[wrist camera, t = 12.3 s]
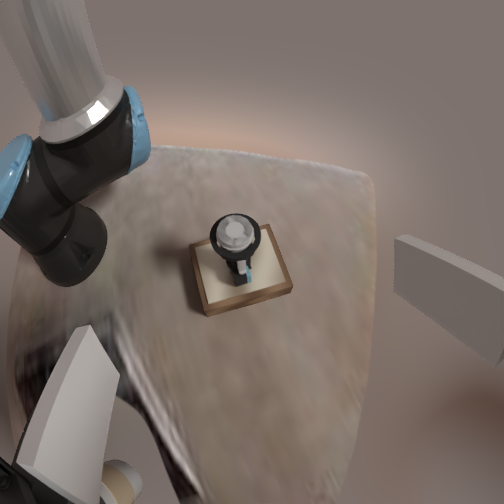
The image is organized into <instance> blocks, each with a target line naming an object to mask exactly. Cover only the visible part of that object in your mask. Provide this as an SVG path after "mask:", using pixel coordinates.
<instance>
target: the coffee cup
mask: <svg viewBox="0 0 504 504" xmlns="http://www.w3.org/2000/svg"><path fill="white" fill-rule="evenodd" d="M142 490H143V483H142V480H141V477H140V475H139V474H138V472H137V471H136V470H135V469H134V468H133V467H132V466H130V465H129V464H127V463H126V462H123V461H120V460H110V461H106V462H103V470H102V479H101V489H100V502H99V504H133V503H134V500H135V499H136V498H137V497H138V496H139V495H140V494H141V492H142ZM67 504H75V503H73V502H71V501H69V500H68V503H67Z"/></svg>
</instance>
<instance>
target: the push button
mask: <svg viewBox="0 0 504 504" xmlns="http://www.w3.org/2000/svg"><path fill="white" fill-rule="evenodd" d="M254 237H255V240H254V243H253V244H252V240H253V238H254ZM217 241H218V243H219V244H220V247H221V248H220V247H219V246H218V244H217ZM210 242H211V245H212V247H213V249H214V251H215V252H216V253H217V254H219V255H220V256H221V257H222V258H223V259H225V260H226V264H227V269H228V272H229V274H230V271H231V272H232V275H233V279H234V283H235V286H236V287H238V286H241V285H244V284H247V283H250V282H251V274H250V271H249V269H252V268H251V256H253V254H254V252H255V251H256V250H257V248H258V247H259V244H260V242H261V230H260V227H259V225H258V224H257V222H256V221H255V220H253V219H252V218H251V217H249V216H247V215H243V214H229V215H226V216H224V217H222V218H220V219H219V220H218V221H216V223H215V224H214V225H213V227H212V229H211V231H210Z"/></svg>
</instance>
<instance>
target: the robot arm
mask: <svg viewBox="0 0 504 504" xmlns="http://www.w3.org/2000/svg"><path fill="white" fill-rule="evenodd" d="M0 37H1V39H2V42H3V44H4V46H5V48H6V50H7V52H8V54H9V57H10V59H11V60H12V63H13V65H14V67H15V69H16V71H17V73H18V74H19V76H20V78H21V80H22V82H23V84H24V86H25V87H26V89H27V91H28V93H29V94H30V96H31V98H32V100H33V101H34V103H35V105H36V106H37V108H38V109H39V111H40V113H41V115H42V118H41V122H40V125H39V135H40V136H39V137H38V138H36V139H35V140H32V137H31V136H29V135H27V134H21V135H20V136H17V137H16V138H14V139H13V140H12V141H11V142H10V143H9V144H8V145H7V146H6V147H5V148H4V149H3V150H2V152H1V153H0V229H2V230H3V231H4V232H5V233H6V234H7V235H9V236H10V237H11V238H12V239H13V240H14V241H16V242H17V243H18V244H19V245H21V246H22V247H23V248H24V249H25V250H27V251H28V252H29V253H30V254H32V256H33V257H34V259H35V261H36V262H37V264H38V265H39V266H40V268H41V271H42V272H43V274H44V275H45V276H46V277H47V278H48V279H49V280H50V281H52V282H53V283H55V284H57V285H59V286H62V287H69V286H74V285H76V284H79V283H80V282H82V281H84V280H85V279H86V278H87V277H88V276H90V275H91V274H92V272H93V271H94V270H95V269H96V267H97V266H98V264H99V263H100V261H101V259H102V257H103V255H104V252H105V249H106V245H107V229H106V226H105V224H104V222H103V220H102V219H101V218H100V217H99V215H98V214H97V213H96V212H95V211H94V210H92V209H90V208H88V207H85V206H83V205H81V204H80V203H78V202H79V201H81V200H82V199H84V198H86V197H87V196H89V195H91V194H92V193H94V192H96V191H97V190H99V189H101V188H103V187H104V186H106V185H108V184H110V183H112V182H113V181H115V180H117V179H119V178H121V177H123V176H124V175H127V174H129V173H130V172H131V171H132V170H134V169H135V168H137V167H138V166H140V165H142V164H143V163H145V162H146V161H147V160H148V158H149V155H150V151H151V143H150V136H149V130H148V125H147V122H146V119H145V118H144V111H143V107H142V104H141V101H140V98H139V96H138V94H137V92H136V90H135V89H134V88H133V87H132V86H127V87H126V86H125V87H123V85H122V83H121V81H120V80H119V79H117V78H115V77H112V76H107V75H105V73H104V69H103V66H102V63H101V60H100V57H99V54H98V51H97V47H96V44H95V41H94V38H93V34H92V31H91V27H90V24H89V20H88V16H87V13H86V8H85V5H84V1H83V0H0ZM394 249H395V251H394V254H395V257H394V258H395V259H394V262H395V263H394V264H395V265H394V293H396V294H397V295H399V296H400V297H402V298H403V299H404V300H406V301H407V302H409V303H410V304H411V305H413V306H414V307H416V308H417V309H418V310H420V311H421V312H423V313H424V314H425V315H427V316H428V317H429V318H431V319H432V320H434V321H435V322H436V323H438V324H439V325H440V326H442V327H443V328H444V329H446V330H447V331H448V332H449V333H451V334H452V335H454V336H455V337H456V338H458V339H459V340H460V341H461V342H463V343H464V344H465V345H467V346H468V347H469V348H470V349H472V350H473V351H474V352H475V353H477V354H478V355H479V356H480V357H482V358H483V359H484V360H485V361H487V362H488V363H489V364H490V365H491V366H493V367H494V368H496V367H497V366H498V364H499V363H500V362H501V361H502V360H503V359H504V278H503V277H501V276H499V275H497V274H495V273H493V272H491V271H489V270H487V269H485V268H483V267H481V266H478V265H477V264H474V263H472V262H470V261H468V260H466V259H464V258H462V257H459V256H457V255H455V254H453V253H450V252H448V251H446V250H444V249H441V248H439V247H437V246H434V245H432V244H430V243H427V242H425V241H423V240H420V239H418V238H415V237H413V236H410V235H408V234H404V235H401V236H399V237H396V238H394ZM119 377H120V374H119V373H118V371H117V370H116V368H115V367H114V365H113V363H112V362H111V360H110V359H109V357H108V355H107V354H106V352H105V350H104V349H103V347H102V345H101V343H100V342H99V340H98V338H97V336H96V334H95V333H94V331H93V329H92V327H91V325H87V326H82V327H78V328H76V329H75V331H74V332H73V334H72V336H71V338H70V339H69V341H68V343H67V345H66V347H65V348H64V350H63V352H62V354H61V356H60V358H59V360H58V362H57V364H56V366H55V368H54V370H53V372H52V374H51V376H50V378H49V380H48V382H47V384H46V386H45V388H44V390H43V393H42V395H41V397H40V399H39V401H38V403H37V404H36V405H35V406H34V408H33V409H32V411H31V413H30V415H29V418H28V420H27V422H28V423H26V425H25V428H24V432H23V433H22V436H21V438H20V441H19V444H18V447H17V450H16V453H15V456H14V459H13V462H12V465H11V466H10V465H9V464H8V463H7V462H6V461H5V460H3V459H2V458H1V457H0V504H67V503H68V500H69V501H71V502H73V503H75V504H99V502H100V489H101V479H102V470H103V462H104V454H105V448H106V441H107V435H108V429H109V423H110V418H111V413H112V408H113V403H114V399H115V394H116V390H117V385H118V381H119Z"/></svg>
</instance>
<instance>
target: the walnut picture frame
mask: <svg viewBox="0 0 504 504" xmlns="http://www.w3.org/2000/svg"><path fill="white" fill-rule="evenodd" d="M259 227H260V230H261V242H260V244H259V247H258V248H257V250H256V251H255V252H254V254H253V256H251V268H252V269H249V271H250V274H251V282H250V283H247V284H244V285H241V286H238V287H236V286H235V283H234V279H233V275H232V272H231V271H230V274H229V272H228V269H227V264H226V260H225V259H223V258H222V257H221V256H220V255H219V254H217V253H216V252H215V251H214V249H213V247H212V245H211V242H210V239H209V240H206V241H202V242H198V243H195V244H191V245H189V248H190V253H191V258H192V262H193V267H194V271H195V275H196V280H197V284H198V288H199V292H200V296H201V300H202V305H203V308H204V312H205V313H206V315H207V316H208V317H209V316H213V315H216V314H220V313H224V312H227V311H231V310H235V309H238V308H242V307H245V306H249V305H252V304H255V303H259V302H262V301H266V300H269V299H272V298H275V297H279V296H282V295H285V294H288V293H291V290H292V288H293V284H292V281H291V278H290V276H289V273H288V271H287V268H286V265H285V263H284V260H283V258H282V255H281V252H280V250H279V247H278V245H277V242H276V240H275V237H274V235H273V232H272V230H271V227H270V225H269V224H266V225H262V226H259ZM254 240H255V237H254V238H253V240H252V244H253V243H254ZM217 244H218V246H219V247H220V244H219V243H218V241H217ZM220 248H221V247H220Z"/></svg>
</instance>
